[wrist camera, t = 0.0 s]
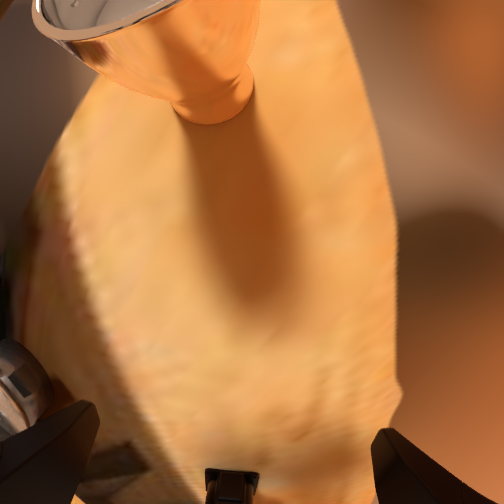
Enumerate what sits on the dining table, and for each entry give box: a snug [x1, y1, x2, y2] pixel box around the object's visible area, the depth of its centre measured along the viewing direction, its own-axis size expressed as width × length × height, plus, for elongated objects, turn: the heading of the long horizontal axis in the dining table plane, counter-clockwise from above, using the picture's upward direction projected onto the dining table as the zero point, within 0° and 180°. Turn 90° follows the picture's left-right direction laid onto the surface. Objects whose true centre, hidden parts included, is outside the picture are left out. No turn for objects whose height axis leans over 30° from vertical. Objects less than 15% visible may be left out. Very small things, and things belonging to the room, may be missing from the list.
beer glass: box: [32, 0, 260, 125], centre depth 11 cm, size 7×7×15 cm
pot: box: [0, 339, 54, 427], centre depth 23 cm, size 23×10×6 cm, turn 121°
